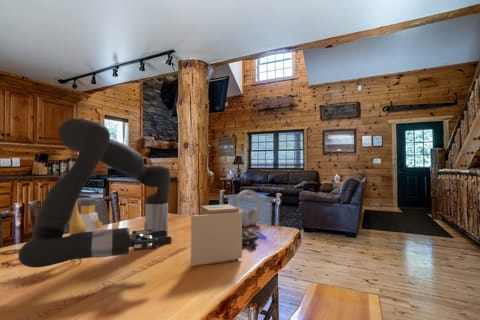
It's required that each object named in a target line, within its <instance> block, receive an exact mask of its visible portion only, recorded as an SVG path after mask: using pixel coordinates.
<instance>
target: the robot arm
mask: <svg viewBox="0 0 480 320" xmlns="http://www.w3.org/2000/svg"><path fill="white" fill-rule="evenodd" d="M58 137H59V139H60V141H61V143H62V144H63V145H64V146H65V147H66V148H67V149H69V150H71V151H74V152H77V153H78V155H77V158H76V159H75V162H74V163H73V165H72V167H71V168H70V169H69V170H68V172H66V174H64V175H63V177H61V178H60V179H59V180H58V181H57V182H56V183H55V184H54V185H53V186H52V187H51V188H50V189H49V190H48V192H47V193H46V194H45V195H46V196H45V198H44V199H43V202H42V205H41V207H40V209H39V212H38V213H37V215H36V220H35V221H36V226H35V229H34V230H33V232H32V235H31V237H30V239H28V241H27V242H25V243H24V244H23V245H22V246H21V248H20V250H19V252H18V260H19V262H20V263H21V264H22V265H23V266H26V267H28V268H43V267H44V268H45V267H50V266H53V265H57V264H62V263H66V262H68V261H71V260H73V261H74V259H75V260H78V259H91V258H108V257H116V256H124V255H128V254H129V252H130V248H133V252H137V251H138V252H139V251H148V250H157V247H159V246H167V245H171V244H172V237H171V236H169V196H170V184H171V172H170V168H169V167H168V166H166V165H147V164H145V161H144V157H143V155H141V153H140V152H138V151H137V150H135V149H134V148H133V147H131V146H129V145H126V144H124V143H123V142H119V141H117V140H114V139H111V134H110V131H109V129H108V128H107V127H106V126H105V125H104V124H102V123H98V122H95V121H91V120H89V119H88V120H87V119H84V118H70V119H67V120H65V121H64V122H63V123H61V125H60V126H59V128H58ZM99 162H101V163H103V164H105V165H106V166H108V167H110V168H112V169H113V170H115V171H117V172H120V173H122V174H124V175H126V176H128V177H130V178H133V179H135V180H137V181H138V182H139V183H140V184H141V185H143V186H146V187H148V188H157V189H156V192H155V193H153V194H150V195H147V196H146V197H145V220H144V221H145V222H144V224H143V228H144V229H140V230H132V231H131V234H130V228H128V227H120V228H119V227H118V228H108V229H100V230H97V231H94V232H93V231H92V232H80V233H74V234H72V235H70V234H69V235H68V236H67V235H66V236H64V234H65V233H64V232H65V229H66V226H67V223H69V221H70V219H71V217H72V214H73V210H74V206H75V203H76V201H77V202H78V199H79V197H80V195H81V192H82V190H83V189H84V186H85V185H86V183H88V180H89V179H90V177H91V175H92V174H93V172H94V171H95V169H96V167H97V166H98V164H99Z"/></svg>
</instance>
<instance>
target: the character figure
mask: <svg viewBox="0 0 480 320" xmlns="http://www.w3.org/2000/svg"><path fill="white" fill-rule="evenodd" d="M79 214H80V216H81V218H82V220H83V222H84V224H85V228H86V232H92V231H93V232H94V231H98V229H101V228H102V226H103V222H102V221H100V219H99V216H98V212H96V198H95V199H93V198H92V199H90V198H86V199H82V200H80V213H79Z"/></svg>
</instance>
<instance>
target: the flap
mask: <svg viewBox="0 0 480 320" xmlns="http://www.w3.org/2000/svg"><path fill="white" fill-rule="evenodd" d="M190 221H191V223H190V224H191V225H190V266H191V267H193V266H200V265H206V264H207V265H208V263H213V262H219V261H226V260H232V259H238V260H239V259H242V258H243V244H242V230H243V227H242V212H234V213H221V214H207V215H201V214H197V215H194V214H193V215H191V216H190Z"/></svg>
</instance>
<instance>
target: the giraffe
mask: <svg viewBox="0 0 480 320" xmlns="http://www.w3.org/2000/svg"><path fill="white" fill-rule="evenodd" d="M80 214H81V213H80V212H79V207H78V200H77V201H76V203H75V206H74V208H73V211H72V213H71V216H70V219H69V221H68V224H69V231H68V234H69V236H70V235H72V234H74V233H80V232H86V228H85V224H84V222H83V220H82V218H81V216H80ZM77 260H78V261H79V264H82V259H77ZM70 262H73V263H72V265H73V266H75V265H76V259H73V260H70Z"/></svg>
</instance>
